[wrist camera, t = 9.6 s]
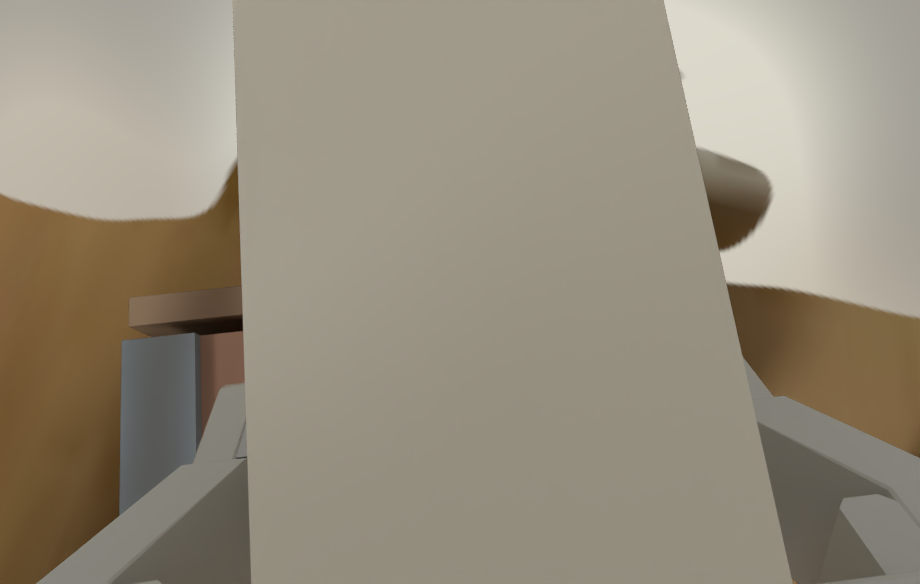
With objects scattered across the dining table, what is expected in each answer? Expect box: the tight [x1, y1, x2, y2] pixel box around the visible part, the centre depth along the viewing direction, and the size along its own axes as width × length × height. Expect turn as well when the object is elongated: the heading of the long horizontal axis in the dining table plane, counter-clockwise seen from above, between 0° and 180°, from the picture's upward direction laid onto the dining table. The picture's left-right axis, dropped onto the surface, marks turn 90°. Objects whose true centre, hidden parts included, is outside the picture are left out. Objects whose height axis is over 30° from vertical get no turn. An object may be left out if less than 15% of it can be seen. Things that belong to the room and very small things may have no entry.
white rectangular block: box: [233, 0, 793, 584], centre depth 12 cm, size 4×8×12 cm, turn 6°
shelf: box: [119, 286, 245, 516], centre depth 30 cm, size 22×14×10 cm, turn 96°
